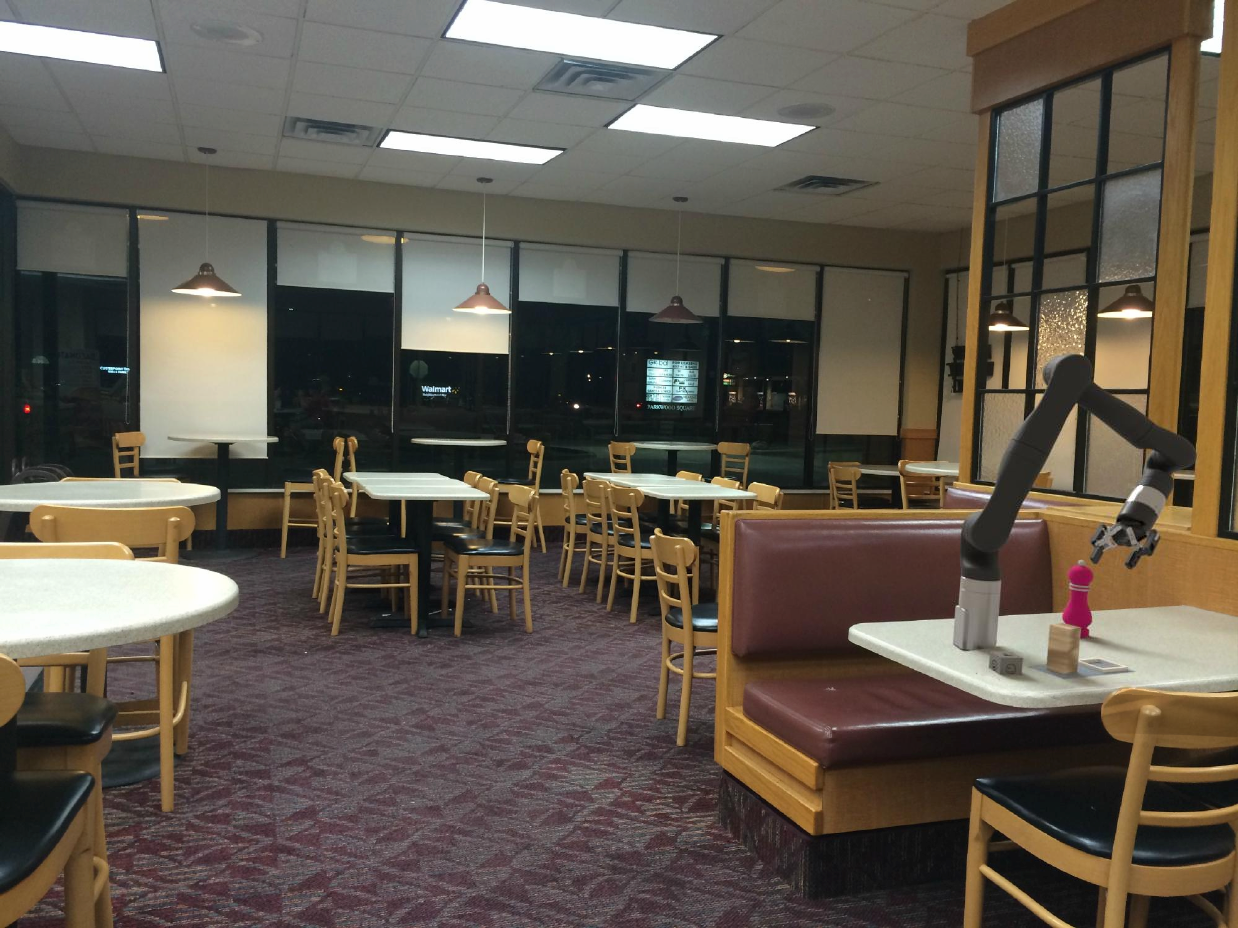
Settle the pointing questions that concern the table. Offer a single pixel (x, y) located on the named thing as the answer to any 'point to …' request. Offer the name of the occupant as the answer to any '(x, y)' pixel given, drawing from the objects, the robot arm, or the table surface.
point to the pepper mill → (1079, 598)
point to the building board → (1088, 668)
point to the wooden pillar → (1063, 648)
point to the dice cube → (1005, 663)
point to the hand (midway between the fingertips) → (1110, 564)
